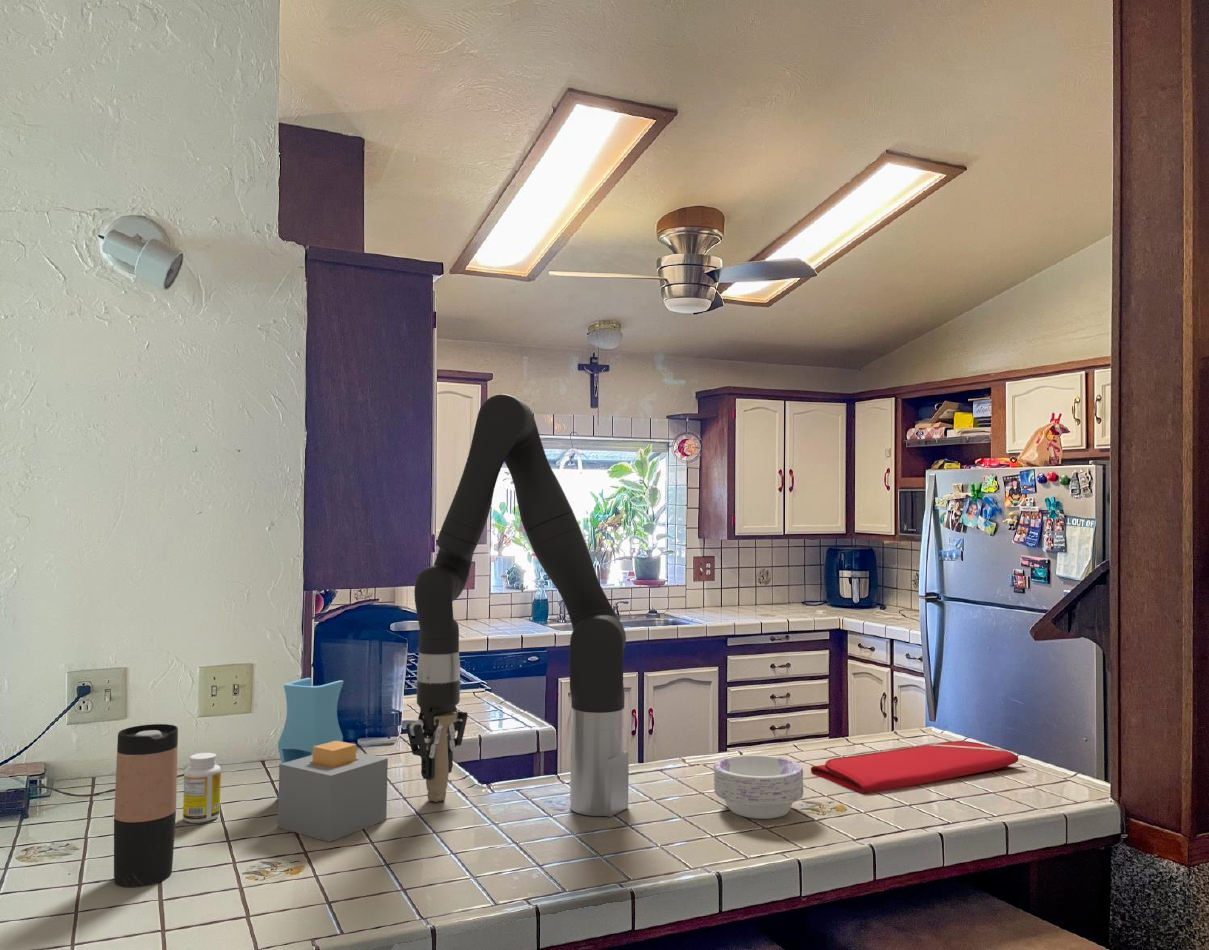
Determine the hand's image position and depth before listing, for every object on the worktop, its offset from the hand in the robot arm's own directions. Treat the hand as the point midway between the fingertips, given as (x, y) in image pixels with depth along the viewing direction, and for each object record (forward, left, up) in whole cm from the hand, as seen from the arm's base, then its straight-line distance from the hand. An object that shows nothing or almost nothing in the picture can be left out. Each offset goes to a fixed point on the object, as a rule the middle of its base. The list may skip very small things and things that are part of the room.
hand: (437, 774), depth 157 cm
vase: (+21, +10, -5) cm, 24 cm away
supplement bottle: (+26, +28, -5) cm, 39 cm away
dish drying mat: (-67, -67, -5) cm, 95 cm away
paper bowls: (-50, -26, -5) cm, 56 cm away
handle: (0, 0, -4) cm, 4 cm away
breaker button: (+6, +18, +4) cm, 20 cm away
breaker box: (+6, +18, -4) cm, 20 cm away
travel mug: (+11, +47, -5) cm, 49 cm away
